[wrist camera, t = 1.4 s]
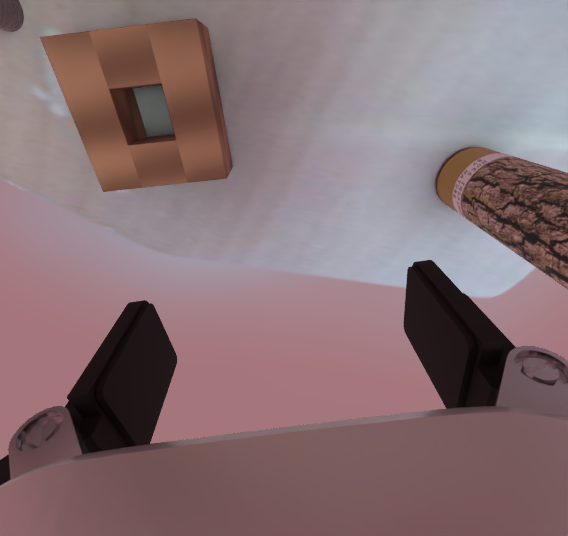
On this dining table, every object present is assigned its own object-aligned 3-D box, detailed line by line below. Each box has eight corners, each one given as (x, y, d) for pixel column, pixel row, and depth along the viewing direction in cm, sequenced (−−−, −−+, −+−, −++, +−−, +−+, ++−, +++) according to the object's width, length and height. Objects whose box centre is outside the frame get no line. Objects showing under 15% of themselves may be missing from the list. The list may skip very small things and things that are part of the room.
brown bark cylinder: (439, 214, 37) (664, 391, 16) (429, 161, 34) (696, 295, 13) (497, 191, 36) (826, 349, 15) (492, 134, 33) (908, 231, 11)
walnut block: (75, 44, 28) (39, 37, 23) (207, 28, 27) (196, 18, 23) (124, 178, 34) (103, 191, 30) (232, 166, 34) (226, 178, 29)
